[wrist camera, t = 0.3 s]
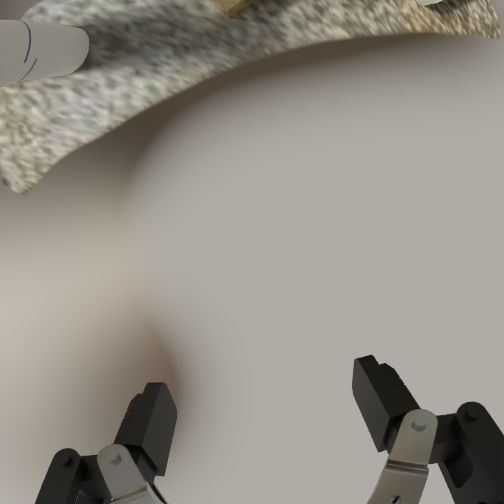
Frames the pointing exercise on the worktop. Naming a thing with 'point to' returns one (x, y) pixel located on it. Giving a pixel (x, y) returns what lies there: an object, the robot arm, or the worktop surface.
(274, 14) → the worktop surface
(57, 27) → the cylindrical container
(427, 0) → the cradle
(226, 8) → the long yellowish block
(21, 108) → the worktop surface
